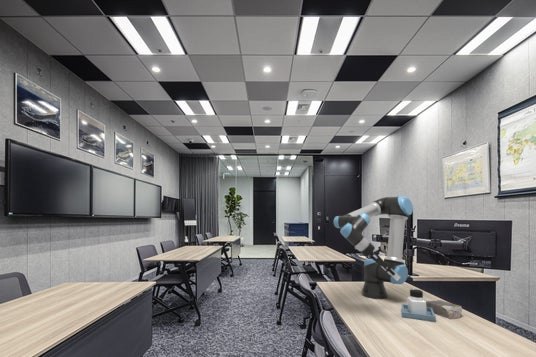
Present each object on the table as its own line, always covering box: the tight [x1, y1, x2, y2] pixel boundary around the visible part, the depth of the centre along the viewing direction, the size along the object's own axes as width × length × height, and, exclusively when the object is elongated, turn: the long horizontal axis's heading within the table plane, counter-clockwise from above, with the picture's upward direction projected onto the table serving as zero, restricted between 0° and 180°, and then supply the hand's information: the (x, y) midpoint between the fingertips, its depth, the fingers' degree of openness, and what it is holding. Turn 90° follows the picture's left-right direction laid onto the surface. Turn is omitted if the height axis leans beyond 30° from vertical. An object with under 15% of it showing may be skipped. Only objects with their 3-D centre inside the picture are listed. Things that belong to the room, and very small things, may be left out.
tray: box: [400, 303, 437, 323], centre depth 149 cm, size 15×15×2 cm
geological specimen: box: [426, 299, 463, 320], centre depth 152 cm, size 11×6×15 cm
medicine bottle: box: [407, 288, 427, 315], centre depth 150 cm, size 7×7×12 cm
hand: (395, 276), depth 152 cm, fingers open, 13 cm apart
